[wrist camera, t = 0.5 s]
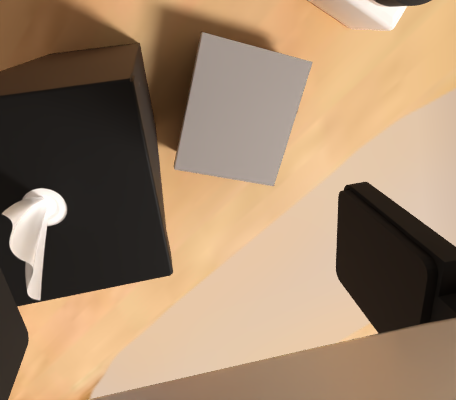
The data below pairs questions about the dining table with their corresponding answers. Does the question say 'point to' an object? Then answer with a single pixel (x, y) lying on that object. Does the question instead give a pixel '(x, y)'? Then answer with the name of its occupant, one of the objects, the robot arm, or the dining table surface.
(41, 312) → the dining table surface
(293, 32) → the dining table surface
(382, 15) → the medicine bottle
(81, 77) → the tall black pillar
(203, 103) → the podium
